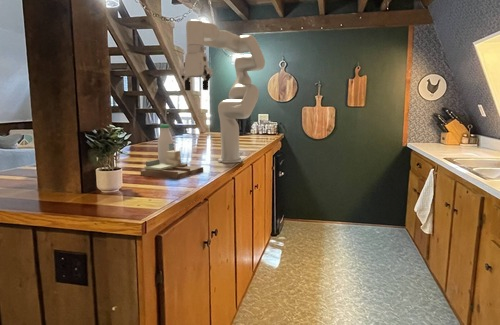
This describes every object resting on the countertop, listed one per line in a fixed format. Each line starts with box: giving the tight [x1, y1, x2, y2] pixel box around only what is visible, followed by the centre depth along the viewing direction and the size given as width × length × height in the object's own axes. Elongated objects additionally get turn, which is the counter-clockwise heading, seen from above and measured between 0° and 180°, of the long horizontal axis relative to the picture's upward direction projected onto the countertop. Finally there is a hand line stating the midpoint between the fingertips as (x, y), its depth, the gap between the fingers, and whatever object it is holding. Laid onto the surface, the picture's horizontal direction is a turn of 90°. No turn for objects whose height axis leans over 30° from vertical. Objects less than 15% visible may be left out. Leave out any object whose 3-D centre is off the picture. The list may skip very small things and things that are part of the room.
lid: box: [144, 158, 175, 170], centre depth 154 cm, size 9×9×3 cm
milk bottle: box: [157, 124, 175, 164], centre depth 177 cm, size 8×8×20 cm
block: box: [166, 149, 182, 166], centre depth 162 cm, size 4×4×7 cm
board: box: [139, 162, 204, 180], centre depth 157 cm, size 18×20×3 cm
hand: (196, 90), depth 160 cm, fingers open, 9 cm apart
